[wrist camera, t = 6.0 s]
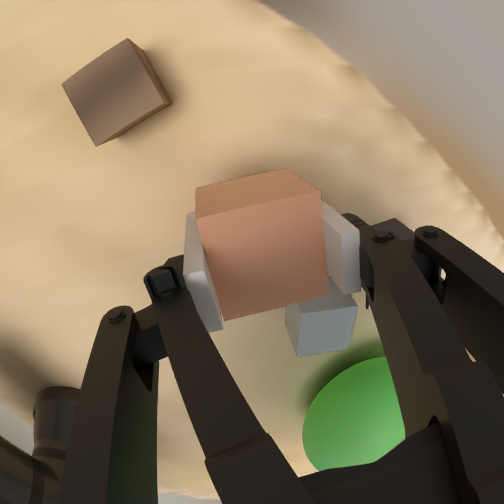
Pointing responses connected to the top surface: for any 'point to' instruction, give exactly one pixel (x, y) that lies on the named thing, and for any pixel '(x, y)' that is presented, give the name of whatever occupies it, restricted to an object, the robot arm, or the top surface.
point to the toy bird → (354, 417)
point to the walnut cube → (116, 92)
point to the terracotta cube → (263, 241)
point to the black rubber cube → (395, 228)
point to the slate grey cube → (321, 322)
